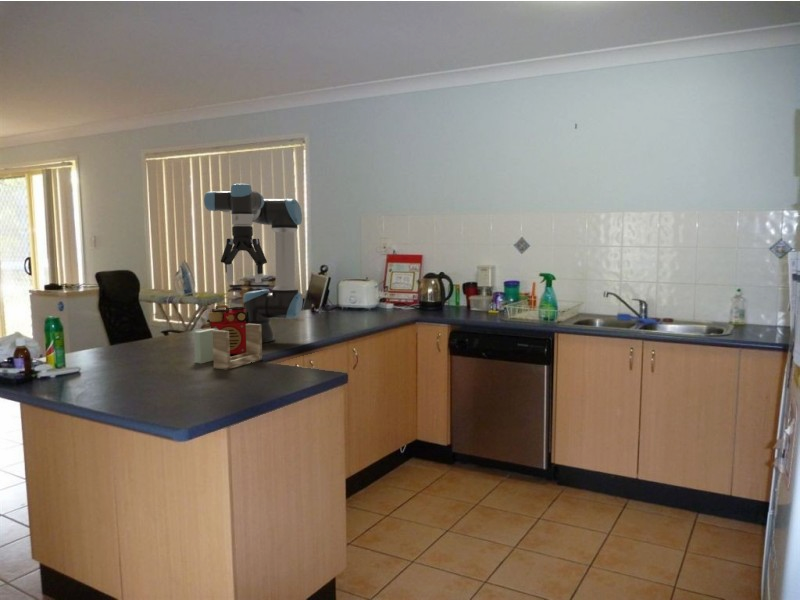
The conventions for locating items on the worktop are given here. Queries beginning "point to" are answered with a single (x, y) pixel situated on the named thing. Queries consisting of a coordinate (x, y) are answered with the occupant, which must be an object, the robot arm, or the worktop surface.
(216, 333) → the u-shaped stone holder
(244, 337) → the radio
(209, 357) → the door panel
